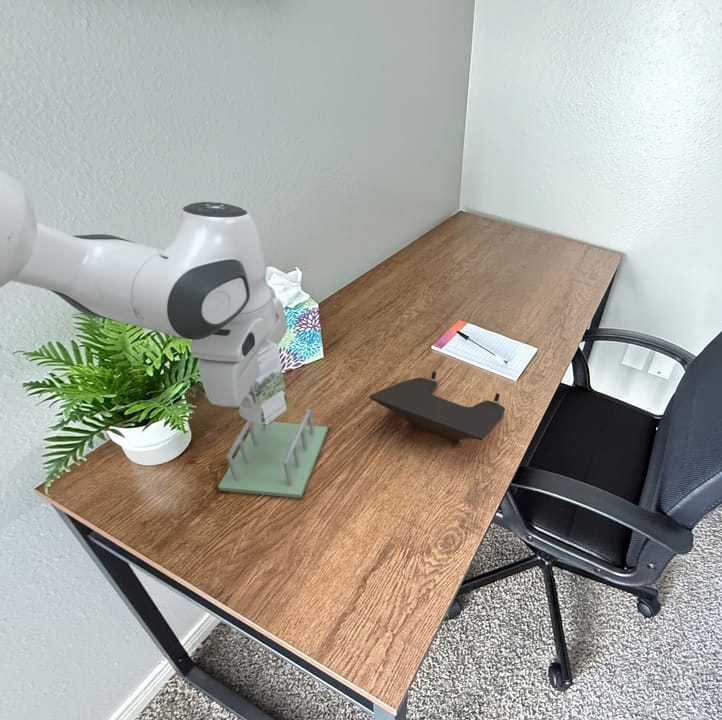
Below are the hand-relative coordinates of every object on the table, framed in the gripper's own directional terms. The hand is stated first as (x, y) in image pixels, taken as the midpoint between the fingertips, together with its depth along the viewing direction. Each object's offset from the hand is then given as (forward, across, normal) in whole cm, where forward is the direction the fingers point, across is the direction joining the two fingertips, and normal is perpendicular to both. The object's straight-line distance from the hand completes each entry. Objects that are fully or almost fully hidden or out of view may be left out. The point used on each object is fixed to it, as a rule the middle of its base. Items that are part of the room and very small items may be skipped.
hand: (259, 387), depth 75 cm
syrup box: (+6, 0, 0) cm, 6 cm away
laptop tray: (+18, -14, +30) cm, 38 cm away
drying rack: (+18, 0, 0) cm, 18 cm away
